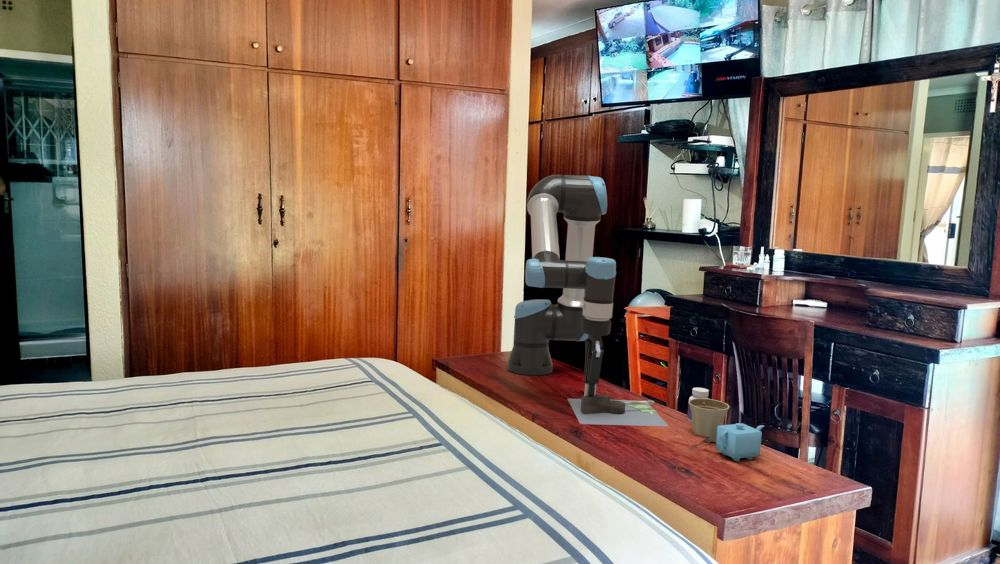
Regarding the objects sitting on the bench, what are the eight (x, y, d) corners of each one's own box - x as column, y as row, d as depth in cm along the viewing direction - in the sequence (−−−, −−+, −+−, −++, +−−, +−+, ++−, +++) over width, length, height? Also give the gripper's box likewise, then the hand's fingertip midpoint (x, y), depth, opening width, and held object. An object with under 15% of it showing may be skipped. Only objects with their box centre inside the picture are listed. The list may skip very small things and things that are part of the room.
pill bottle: (696, 431, 168) (699, 393, 167) (682, 424, 173) (684, 387, 172) (713, 429, 171) (716, 391, 170) (698, 422, 176) (701, 385, 175)
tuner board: (567, 403, 187) (567, 397, 187) (645, 406, 188) (646, 400, 188) (579, 429, 165) (580, 423, 165) (668, 432, 167) (669, 425, 166)
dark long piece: (649, 405, 182) (649, 391, 182) (658, 411, 178) (659, 396, 177) (577, 409, 176) (578, 394, 176) (585, 415, 172) (586, 399, 171)
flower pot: (729, 447, 158) (732, 411, 157) (687, 443, 159) (689, 407, 158) (724, 434, 167) (726, 400, 166) (684, 430, 169) (687, 396, 168)
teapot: (752, 449, 157) (755, 417, 156) (771, 458, 152) (774, 425, 151) (709, 453, 153) (712, 421, 152) (727, 463, 147) (730, 430, 146)
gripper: (578, 312, 179) (571, 398, 182) (586, 322, 167) (578, 414, 170) (606, 314, 180) (598, 400, 183) (616, 323, 167) (607, 415, 170)
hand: (588, 406), depth 176 cm, fingers closed
